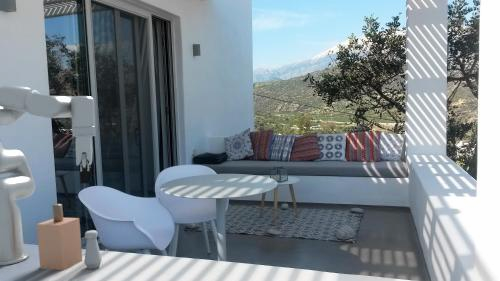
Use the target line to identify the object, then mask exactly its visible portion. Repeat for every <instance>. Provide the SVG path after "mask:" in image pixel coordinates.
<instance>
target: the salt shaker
mask: <svg viewBox="0 0 500 281" xmlns="http://www.w3.org/2000/svg"><path fill="white" fill-rule="evenodd" d="M98 235H99V234H98V231H97V230H94V229H91V230H87V231H85V233H84V238H85V239H86V245H85V253H84V254H85V255H84V261H83V264H85V265H84V266H86V268H87V270H95V269H98V268H100V265H101V264H102V261H103V260H102V255H101V250H100V247H99V244H98V239H97V238H98Z"/></svg>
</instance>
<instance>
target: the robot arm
mask: <svg viewBox="0 0 500 281" xmlns="http://www.w3.org/2000/svg"><path fill="white" fill-rule="evenodd" d="M26 113H28V114H30V115H31V116H36V117H42V118H46V119H47V118H49V119H60V118H65V119H66V118H71V131H72V133H71V134H72V137H73V138H74V137H75V164H76V166H80V168H79V169H80V171H79V180H80V184H90V183H91V179H92V177H93V176H92V172H93V171H92V163H93V153H94V152H93V151H94V150H93V147H94V146H93V137H96V131H97V130H96V113H95V100H94V98H93V97H92V96H88V95H80V96H79V95H77V96H76V95H74V96H69V95H47V94H41V93H40V92H39V91H38V90H37V89H33V88H30V87H28V86H22V85H2V86H0V126H8V125H9V126H10V125H12V124H14V123H16V122H17V121H18V120H19V119H20V118H22V117H23V116H24V115H25V114H26ZM7 174H9V175H10V176H5V177H4V176H3V177H0V266H7V265H12V264H14V265H15V264H18V263H20V262H24V261H25V260H27V259H28V258H29V256H30V255H29V252H27V251H25V250H24V248H25V246H24V236H23V222H22V213H21V209H20V207H19V205H18V204H17V203H16V202H15V201H19V200H22V199H26V198H29V197H31V196H32V195H33V194H34V193H35V191H36V182H35V179H34V176H33V173H32V170H31V168H30V165H29V162H28V159H27V157H26V156H25V154H24V153H23V152H22V151H21V150H19V149H17V148H6V149H5V148H4V146H3V144H2V142H1V140H0V176H2V175H7Z"/></svg>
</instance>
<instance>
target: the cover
mask: <svg viewBox="0 0 500 281" xmlns="http://www.w3.org/2000/svg"><path fill="white" fill-rule="evenodd" d="M51 207H52V217H53V218H51V219H48V220H45V221H42V222H39V223H36V230H37V231H36V232H37V245H38V256H39V269H43V268H44V269H45V270H54V269H55V271H56V270H57V271H66V270H67V269H69V268H71V267H72V266H75V265H76V264H79V263H80V262H83V254H82V253H83V251H82V249H83V248H82V239H81V224H80V217H64V212H63V203H55V204H52V206H51ZM46 268H47V269H46Z"/></svg>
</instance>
